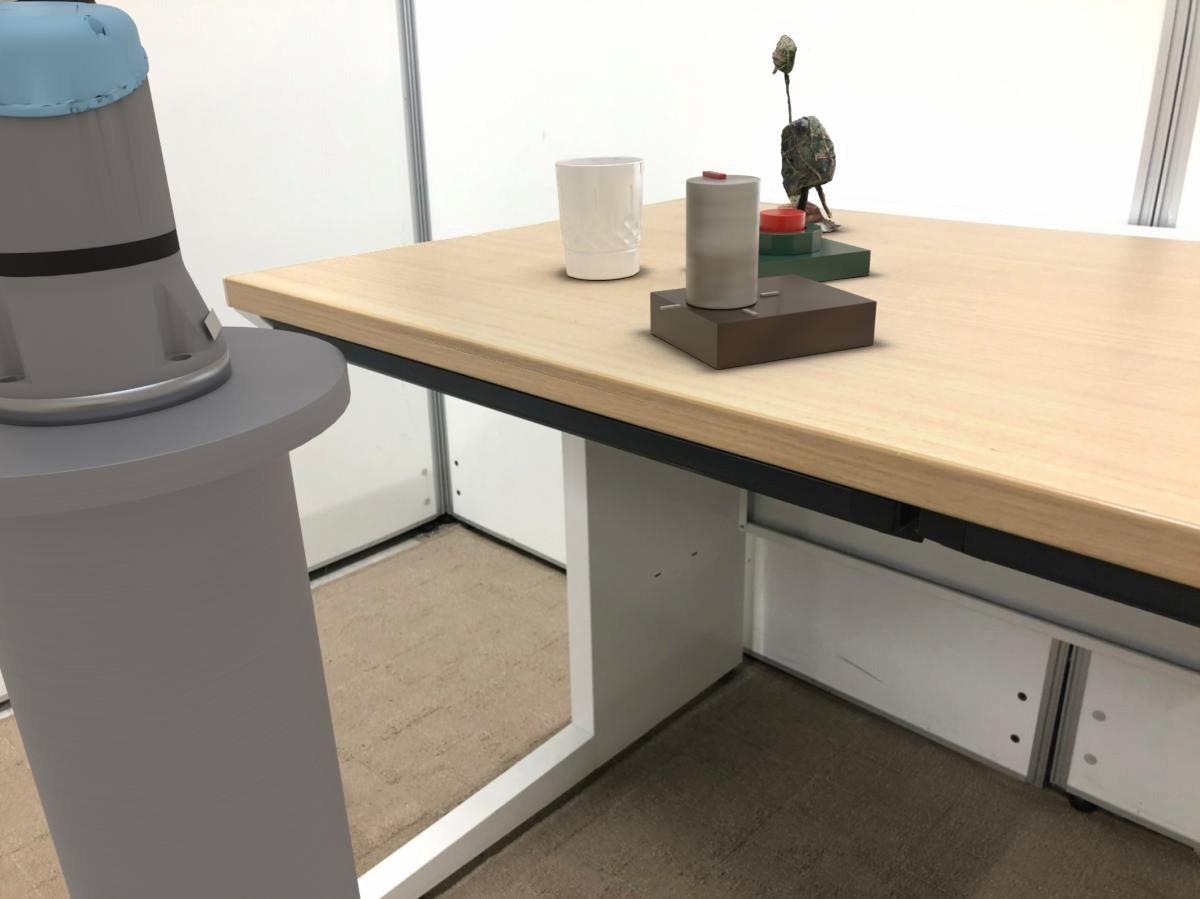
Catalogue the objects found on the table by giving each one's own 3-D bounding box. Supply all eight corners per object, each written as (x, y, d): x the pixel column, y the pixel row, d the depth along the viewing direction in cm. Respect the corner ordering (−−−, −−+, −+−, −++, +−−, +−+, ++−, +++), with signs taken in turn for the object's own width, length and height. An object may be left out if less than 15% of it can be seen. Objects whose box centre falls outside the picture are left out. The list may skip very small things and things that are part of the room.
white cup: (628, 261, 95) (626, 154, 92) (657, 277, 88) (656, 161, 85) (550, 268, 93) (544, 159, 90) (573, 285, 86) (568, 167, 83)
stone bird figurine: (778, 240, 104) (786, 33, 96) (753, 223, 114) (758, 35, 106) (854, 236, 104) (867, 31, 97) (821, 219, 115) (831, 33, 107)
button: (774, 237, 85) (774, 216, 84) (750, 230, 88) (750, 210, 88) (813, 233, 86) (814, 212, 86) (788, 226, 90) (789, 207, 89)
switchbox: (750, 290, 82) (751, 242, 81) (694, 269, 91) (695, 225, 90) (869, 275, 87) (872, 229, 85) (805, 256, 95) (807, 214, 94)
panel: (696, 373, 62) (696, 324, 61) (631, 335, 71) (630, 292, 69) (873, 344, 67) (877, 298, 65) (792, 312, 75) (794, 271, 74)
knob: (770, 303, 65) (775, 175, 62) (706, 312, 64) (708, 180, 61) (734, 289, 70) (737, 168, 66) (673, 297, 68) (673, 173, 65)
